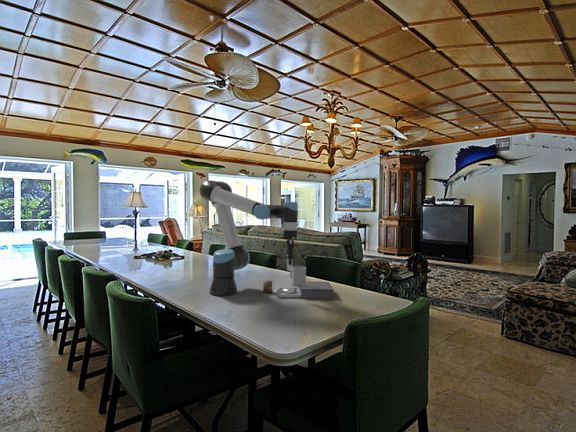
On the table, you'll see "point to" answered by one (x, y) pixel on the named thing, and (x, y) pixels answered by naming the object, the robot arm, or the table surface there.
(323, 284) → the housing
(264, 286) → the brown rounded cylinder
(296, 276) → the mug
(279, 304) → the table surface
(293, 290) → the disc
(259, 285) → the table surface
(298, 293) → the tray
